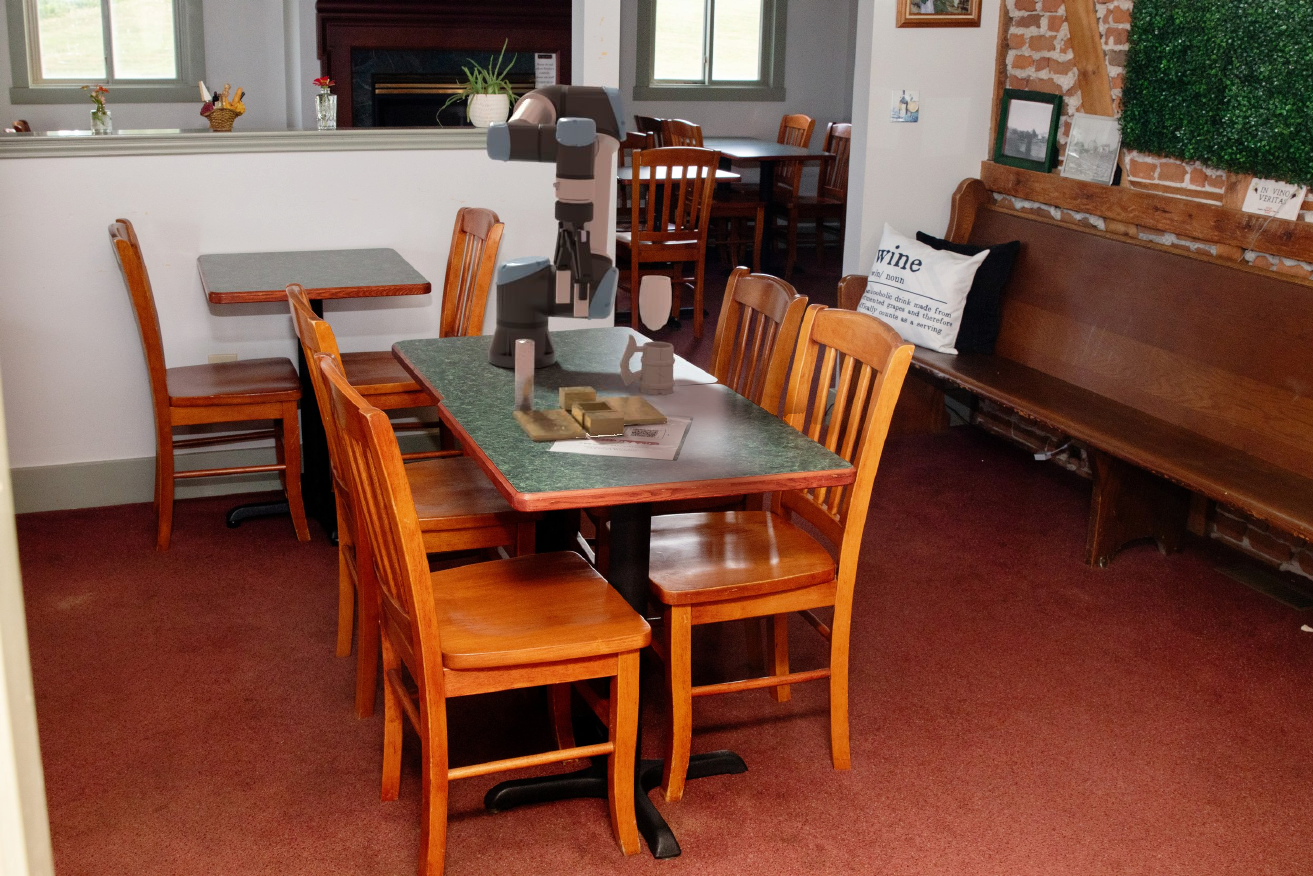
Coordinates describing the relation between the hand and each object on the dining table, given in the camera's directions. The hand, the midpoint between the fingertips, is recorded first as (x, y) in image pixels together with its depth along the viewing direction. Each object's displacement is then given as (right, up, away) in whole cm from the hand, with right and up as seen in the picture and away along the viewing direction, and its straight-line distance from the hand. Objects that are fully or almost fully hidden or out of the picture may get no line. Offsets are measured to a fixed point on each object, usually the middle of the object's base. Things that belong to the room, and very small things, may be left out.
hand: (571, 309), depth 246 cm
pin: (-9, -20, -5) cm, 23 cm away
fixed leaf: (0, -23, -13) cm, 27 cm away
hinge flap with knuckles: (+8, -21, -5) cm, 23 cm away
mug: (+15, -16, +14) cm, 26 cm away
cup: (+16, -10, +32) cm, 37 cm away
